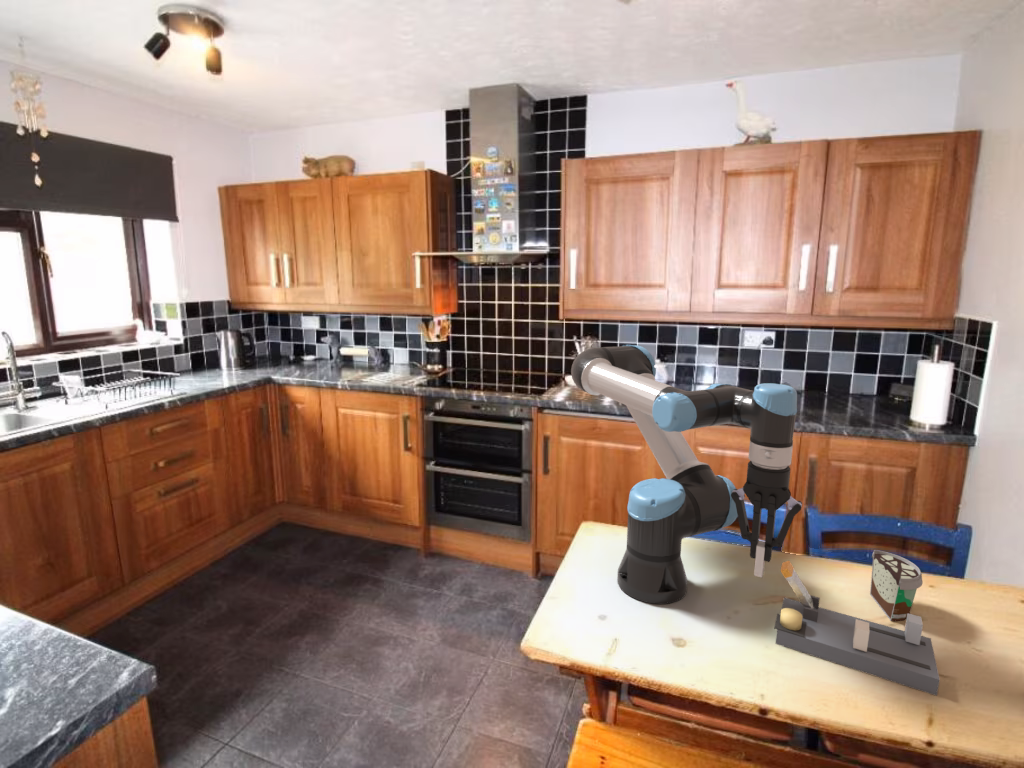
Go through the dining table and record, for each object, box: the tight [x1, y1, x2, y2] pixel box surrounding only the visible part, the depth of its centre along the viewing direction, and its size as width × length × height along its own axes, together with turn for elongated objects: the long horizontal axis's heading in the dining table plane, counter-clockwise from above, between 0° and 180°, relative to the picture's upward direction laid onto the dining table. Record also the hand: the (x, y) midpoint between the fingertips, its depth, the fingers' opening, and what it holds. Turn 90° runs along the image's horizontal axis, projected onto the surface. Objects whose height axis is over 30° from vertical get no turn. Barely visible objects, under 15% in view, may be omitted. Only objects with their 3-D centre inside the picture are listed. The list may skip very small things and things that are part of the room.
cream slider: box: [853, 619, 870, 652], centre depth 94 cm, size 2×3×4 cm
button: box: [780, 608, 803, 631], centre depth 100 cm, size 4×4×2 cm
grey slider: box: [904, 613, 924, 645], centre depth 96 cm, size 2×3×4 cm
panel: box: [774, 594, 941, 696], centre depth 98 cm, size 24×12×5 cm, turn 58°
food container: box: [869, 549, 923, 623], centre depth 109 cm, size 12×6×10 cm, turn 168°
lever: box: [780, 560, 815, 609], centre depth 104 cm, size 1×4×10 cm
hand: (758, 573), depth 108 cm, fingers closed
